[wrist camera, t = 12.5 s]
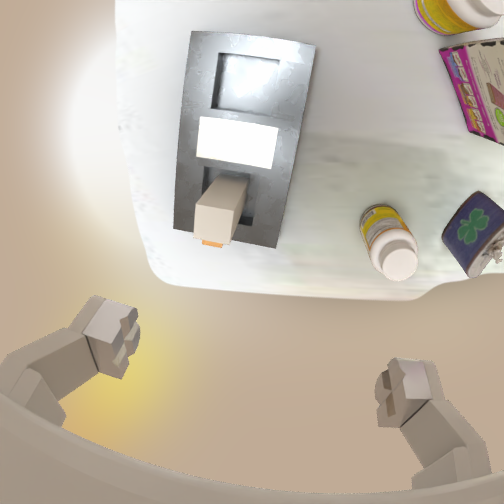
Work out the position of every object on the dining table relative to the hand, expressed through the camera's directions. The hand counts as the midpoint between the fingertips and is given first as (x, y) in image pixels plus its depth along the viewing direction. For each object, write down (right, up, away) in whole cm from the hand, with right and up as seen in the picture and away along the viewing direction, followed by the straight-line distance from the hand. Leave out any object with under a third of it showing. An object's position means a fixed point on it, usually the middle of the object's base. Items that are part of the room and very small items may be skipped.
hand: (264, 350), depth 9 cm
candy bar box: (+26, +23, +18) cm, 39 cm away
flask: (+28, +8, +27) cm, 40 cm away
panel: (-2, +16, +26) cm, 31 cm away
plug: (-3, +11, +29) cm, 31 cm away
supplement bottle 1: (+16, +7, +29) cm, 34 cm away
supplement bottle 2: (+21, +31, +14) cm, 40 cm away
